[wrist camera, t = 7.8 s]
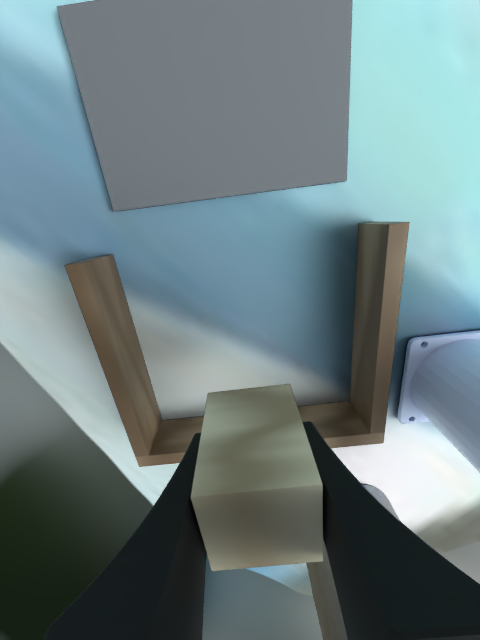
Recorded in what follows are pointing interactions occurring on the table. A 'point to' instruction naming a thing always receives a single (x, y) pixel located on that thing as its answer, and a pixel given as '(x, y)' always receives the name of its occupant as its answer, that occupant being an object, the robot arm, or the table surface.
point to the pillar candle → (326, 588)
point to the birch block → (257, 481)
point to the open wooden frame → (329, 419)
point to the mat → (212, 95)
